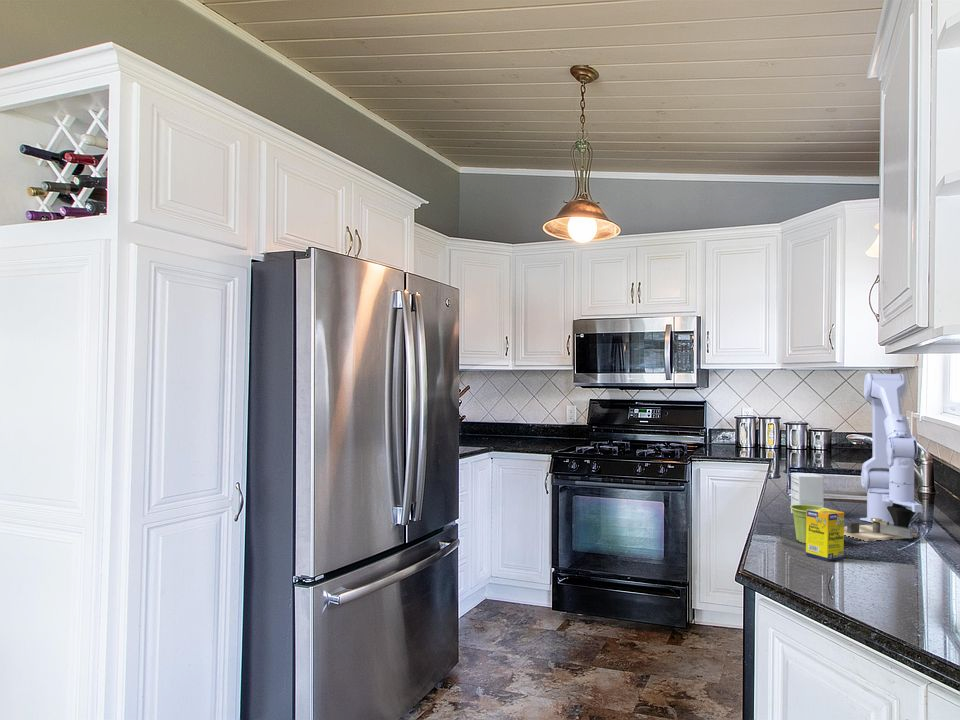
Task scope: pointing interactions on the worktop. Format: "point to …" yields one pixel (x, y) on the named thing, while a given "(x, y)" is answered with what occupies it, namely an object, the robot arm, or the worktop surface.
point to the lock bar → (893, 529)
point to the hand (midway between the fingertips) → (901, 534)
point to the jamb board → (868, 532)
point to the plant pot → (801, 520)
